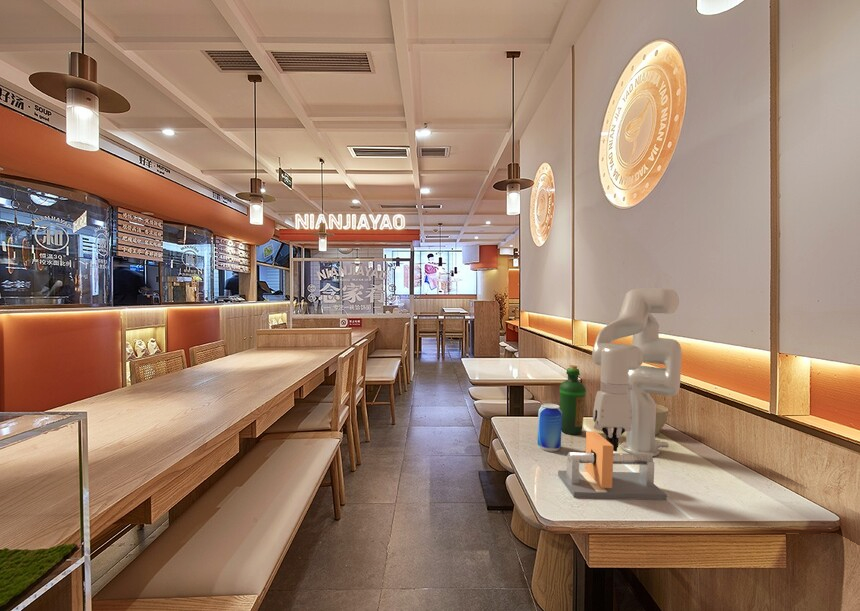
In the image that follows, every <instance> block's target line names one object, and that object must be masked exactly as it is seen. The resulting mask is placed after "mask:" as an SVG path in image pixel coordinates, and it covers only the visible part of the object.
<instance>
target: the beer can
mask: <svg viewBox="0 0 860 611" xmlns="http://www.w3.org/2000/svg"><path fill="white" fill-rule="evenodd" d="M537 416H538V417H537V419H538V420H537V446H539V449H540V450H543V451H545V452H553V451H554V452H558V451H559V450H560V448H561V447H562V431H561V428H562V412H561V410H560V404H559V405H558V404H556V403H550V402H544V403H541V406H540V408H538V415H537Z"/></svg>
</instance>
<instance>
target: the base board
mask: <svg viewBox="0 0 860 611" xmlns="http://www.w3.org/2000/svg"><path fill="white" fill-rule="evenodd" d="M557 476H558V478H559V479H560V481H562V483H563V484H564V486H565V487H566V488H567V490H568V491H569V492H570V494H571V495H572V497H573V498H583V499H584V498H585V499H590V498H592V499H618V500H619V499H621V500H622V499H624V500H630V499H631V500H655V499H667V497H668V496H667V493H666V492H665V491H664V490H662V489H661V488H660V487H659V486H657V485H656V484H655V483H654V486H646V485H645V484H644V483H643V482H641V481H640V480H639V472H637V471H636V472H632V471H629V472H628V471H627V472H626V471H613V477H612V488H601V486H600V485H599V484H598V483H597V482H596V481H595V480H594V479H593V478H592V476H591V475H590V474H589V473H588V472H587V471H586V470H579V483H578V484H571V483H570V481H569V480H568V479H567V470H561V469H560V470H557Z"/></svg>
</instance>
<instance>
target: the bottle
mask: <svg viewBox="0 0 860 611" xmlns="http://www.w3.org/2000/svg"><path fill="white" fill-rule="evenodd" d="M565 374H566V375H567V380H564V381H562V382H561V384H560V385H559V406H560V407H559V408H560V410H561V412H562V428H561V433H564V434H567V435H573V436H578V435H580V434H582V433H583V425H584V415H585V404H586V396H587V395H586V394H587V393H586V392H587V389H586V387H585V385H584V383H582V382H581V381H579V376H581V373H580V369H579V368H578V365H574V364H573V365H572V364H571V365H568V368H567V369H566V373H565Z"/></svg>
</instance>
